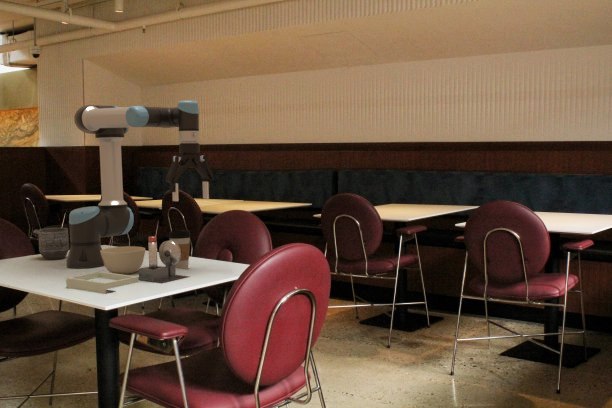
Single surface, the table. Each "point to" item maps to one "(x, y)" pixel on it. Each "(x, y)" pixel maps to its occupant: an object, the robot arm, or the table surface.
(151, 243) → the pin
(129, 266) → the bowl
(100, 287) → the tray
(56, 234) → the planter
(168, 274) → the block
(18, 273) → the table surface
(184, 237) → the coffee cup
